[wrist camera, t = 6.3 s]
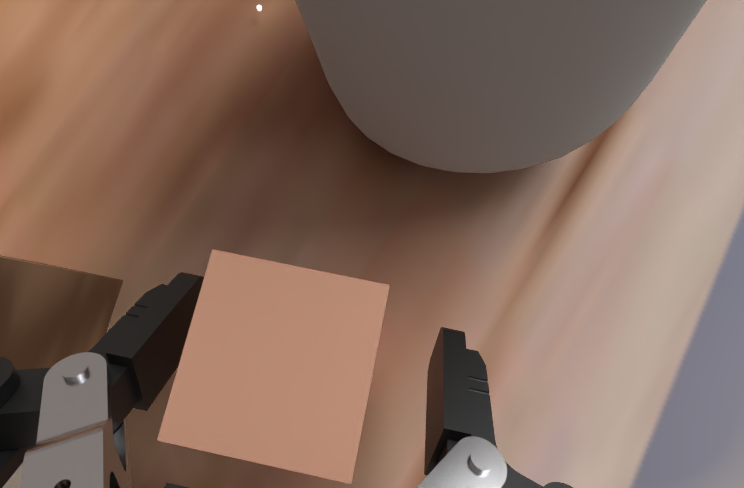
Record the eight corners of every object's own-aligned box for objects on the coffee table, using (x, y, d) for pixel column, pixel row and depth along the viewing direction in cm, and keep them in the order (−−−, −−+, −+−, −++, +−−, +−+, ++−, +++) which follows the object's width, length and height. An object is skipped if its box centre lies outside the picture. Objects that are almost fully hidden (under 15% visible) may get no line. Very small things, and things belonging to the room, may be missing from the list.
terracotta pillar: (362, 396, 18) (351, 484, 8) (275, 378, 18) (156, 440, 8) (380, 307, 18) (389, 284, 9) (296, 290, 19) (212, 248, 9)
